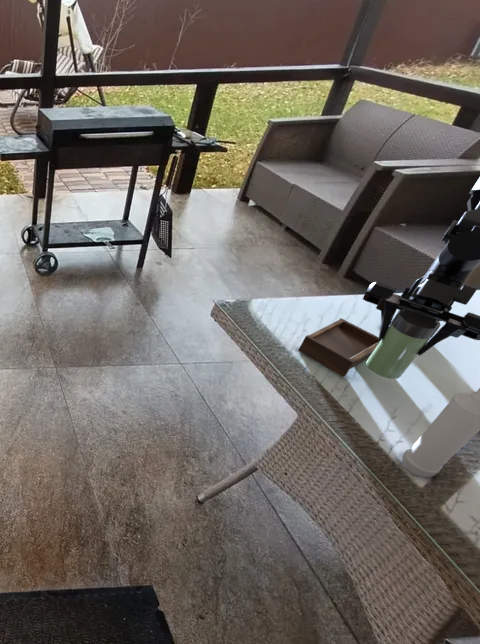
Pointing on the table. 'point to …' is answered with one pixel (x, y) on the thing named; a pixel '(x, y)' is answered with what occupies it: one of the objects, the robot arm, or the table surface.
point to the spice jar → (402, 343)
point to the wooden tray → (339, 346)
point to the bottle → (445, 435)
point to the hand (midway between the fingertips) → (398, 347)
